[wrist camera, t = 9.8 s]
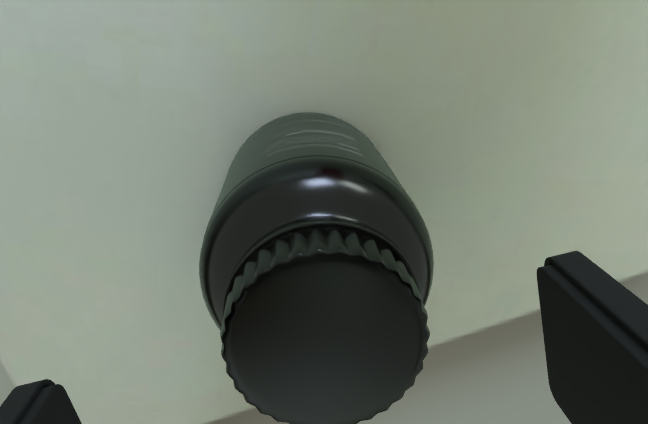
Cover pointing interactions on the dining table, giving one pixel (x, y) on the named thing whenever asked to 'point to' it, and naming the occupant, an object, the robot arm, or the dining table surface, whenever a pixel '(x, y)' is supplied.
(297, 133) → the supplement bottle
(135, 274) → the dining table surface
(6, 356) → the dining table surface
